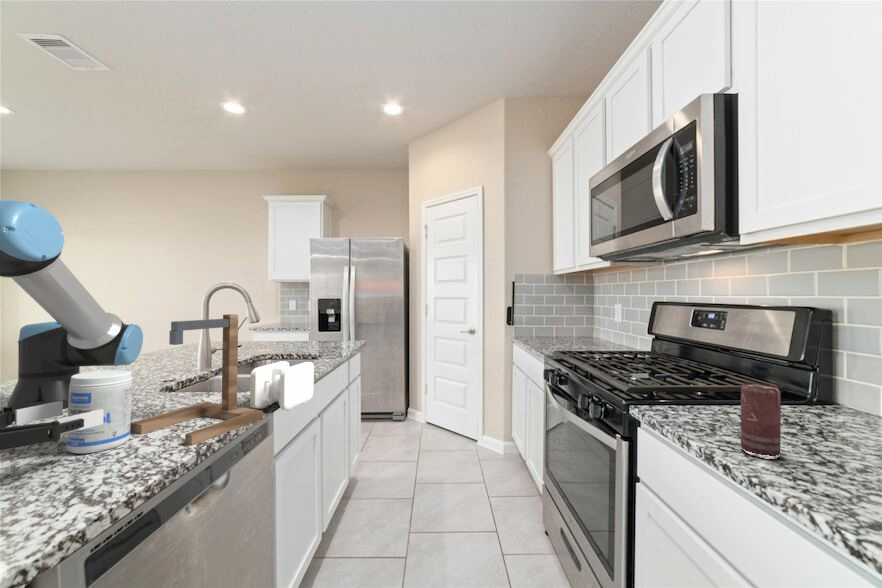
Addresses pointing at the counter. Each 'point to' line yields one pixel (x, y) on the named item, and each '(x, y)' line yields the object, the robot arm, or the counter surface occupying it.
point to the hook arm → (193, 328)
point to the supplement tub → (101, 393)
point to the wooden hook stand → (226, 410)
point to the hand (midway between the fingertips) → (81, 412)
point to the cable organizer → (281, 385)
